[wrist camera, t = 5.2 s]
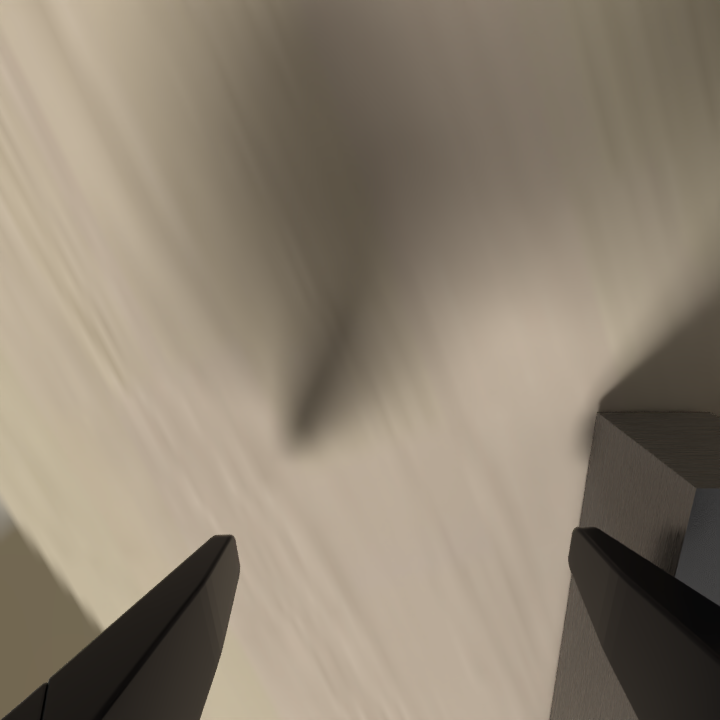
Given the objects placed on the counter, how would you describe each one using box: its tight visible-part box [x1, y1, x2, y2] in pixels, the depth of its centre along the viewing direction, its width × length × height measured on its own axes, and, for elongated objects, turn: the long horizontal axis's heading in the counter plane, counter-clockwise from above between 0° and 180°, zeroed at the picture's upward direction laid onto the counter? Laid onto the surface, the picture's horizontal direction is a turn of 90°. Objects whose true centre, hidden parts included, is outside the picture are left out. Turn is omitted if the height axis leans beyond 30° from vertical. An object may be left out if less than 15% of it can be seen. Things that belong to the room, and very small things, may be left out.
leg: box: [550, 412, 720, 720], centre depth 9 cm, size 12×2×3 cm, turn 1°
